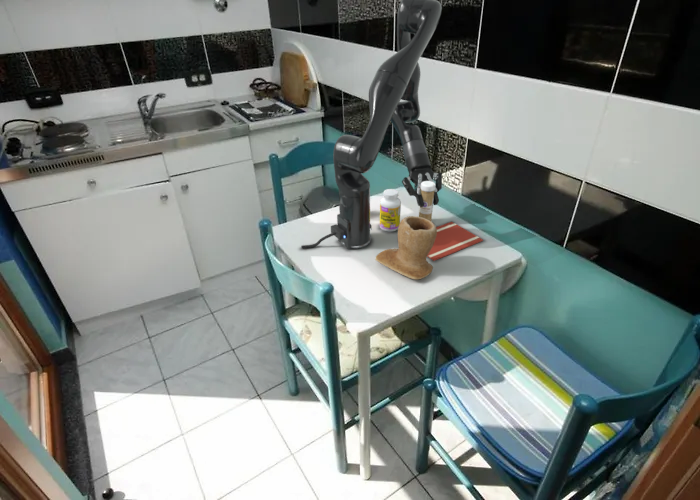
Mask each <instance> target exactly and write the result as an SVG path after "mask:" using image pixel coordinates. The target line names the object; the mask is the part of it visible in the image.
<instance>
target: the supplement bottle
mask: <svg viewBox="0 0 700 500" xmlns="http://www.w3.org/2000/svg"><path fill="white" fill-rule="evenodd" d="M382 194H383V196H382V198H380V200H379V201H380V202H379V228H380V229H381V230H382V231H384V232H391V233H392V232H395V231H398V227H399V224H400V222H401V209H402V208H401V207H402V201H401V199H400V198H399V191H398V190H397V189H394V188H387V189H384V190H383V193H382Z"/></svg>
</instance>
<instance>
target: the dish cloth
mask: <svg viewBox="0 0 700 500" xmlns="http://www.w3.org/2000/svg"><path fill="white" fill-rule="evenodd" d="M436 229H437V235H436V239H435V242H434V244H433V247H432V249H431V250H430V252H429V254H428V255H427V258H429V259H430V260H432V261H433V262H435V261H437V260H440V259H443V258H445V257H447V256H449V255H452V254H454V253H457V252H459V251H462V250H464V249H466V248H469V247H471V246H473V245H476V244H479V243H481V242H483V241H484V239H483V238H481V237H479V236H478V235H476V234H474V233H472V232H471V231H469V230H467V229H466V228H464V227H463V226H460V225H459V224H457V223H455V222H453V221H450V222H446V223H443V224H440V225H439V226H438V225H437V226H436Z"/></svg>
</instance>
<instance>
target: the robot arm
mask: <svg viewBox="0 0 700 500" xmlns="http://www.w3.org/2000/svg"><path fill="white" fill-rule="evenodd" d="M442 7H443V6H442V4H441V2H440V1H439V0H401V1H400V2H399V5H398V9H397V15H396V37H397V39H396V41H397V42H396V43H397V52H396V53H394V54H393V55H391V56H390V57H389V58H387V59H386V60H384V61H383V62H382V63H381V64H380V65H379V67H378V68H377V71H376V73H375V75H374V77H373V79H372V82H371V83H370V85H369V88H368V107H369V120H368V125H367V127H366V129H365V132H364V134H363V136H362V137H360V136H356V135H352V134H343V135H340V136H339V137H338V139H336V141H335V143H334V147H333V154H332V156H333V157H332V158H333V159H332V160H333V169H334V179H335V180H334V181H335V183H336V186H337V188H338V205H339V207H338V209H339V213H337V215H336V221H337V223H335V224H333V225H330V233H329V234H327V235H324V236H323V237H321V238H319V239H318V240H317V242H316V243H312V244H305V245H304V244H303V245H301V247H300V248H301V249H311V248H315V247H317V246H319V245H320V244H321V243H322V242H324V241H325V240H326V239H329V238H331V237H333V236H334V237H335V238H336V239H337V241H338V242H339V243H340V244H341V245H342V246H343V247H344V248H345V249H347V250H351V249H353V250H355V249H356V250H357V249H362V248H366V247H367V246H368V245H370V243H371V231H372V228H373V227H372V226H373V225H372V223H371V183H370V180H369V179H368V178H367V177H366V176H364V174H367V173H368V172H369V171H370V170H371V169H372V167H373V166H374V165H375V163H376V160H377V158H378V155H379V153H380V150H381V147H382V144H383V143H384V142H383V141H384V139H385V136H386V133H387V130H388V128H389V126H390V124H392V126H393V128H394V129H395V131H396V132H397V134H398V136H399V139H400V142H401V146H402V152H403V158H404V161H405V164H406V168H407V172H408V176H405V177H403V179H402V180H401V184H402V185H403V187H404V188H405V190H406V192H407V193H408V196H410V197H415V199H416V204H417V206H418V207H419V206H420V207H423V206H424V202H423V198H422V194H421V183H422V182H424V181H432V182H434V181H435V191H434V200H433V206H436V205H438V204H439V202H440V199H439V195H438V193H439V191H440V190H442V188H443V173H442V172H434V171H433V169H432V165H431V161H430V158H429V154H428V151H427V150H428V149H427V148H426V145H425V142H424V138H423V135H422V131H421V128H420V127H419V126H418V125H416V124H410V123H414V122H416V121H418V119H419V118H420V116H421V107H420V102H419V87H420V81H421V68H420V64H419V60H420V59H421V57H422V55H423V53H424V51H425V49H426V48H427V46H428V44H429V43H430V40H431V39H432V37H433V35H434V34H435V31H436V29H437V27H438V25H439V22H440V21H441V16H442V13H443V12H442V10H443V8H442ZM411 34H412V35H413V37H412V36H411ZM412 183H413V184H414V187H413V185H412Z"/></svg>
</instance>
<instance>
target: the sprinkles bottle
mask: <svg viewBox="0 0 700 500" xmlns="http://www.w3.org/2000/svg"><path fill="white" fill-rule="evenodd" d="M435 184H436V182H434V181H433V182H432V181H424V182H422V183H421V194H422V198H423V202H424V206H423V207H420V206H418V217H421V218H425V219H427V220H430V221H431V222H433V221H432V220H433V219H432V216H433V211H434V210H433V208H434V204H433V200H434V191H435Z"/></svg>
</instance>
